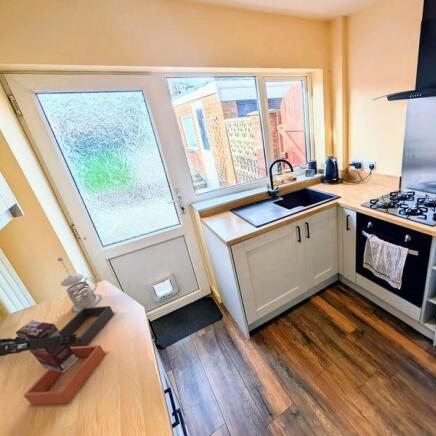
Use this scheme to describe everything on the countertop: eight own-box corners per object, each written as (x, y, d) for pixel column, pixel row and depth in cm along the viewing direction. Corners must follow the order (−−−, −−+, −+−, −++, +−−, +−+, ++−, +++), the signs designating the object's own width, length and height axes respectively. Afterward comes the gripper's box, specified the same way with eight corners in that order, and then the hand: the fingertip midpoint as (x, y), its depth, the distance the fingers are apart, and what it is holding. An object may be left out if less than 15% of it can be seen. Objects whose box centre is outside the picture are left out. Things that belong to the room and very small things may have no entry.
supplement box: (43, 369, 75) (13, 332, 69) (59, 354, 80) (33, 319, 73) (63, 373, 73) (35, 336, 67) (79, 358, 77) (54, 322, 71)
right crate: (56, 348, 90) (49, 340, 88) (88, 315, 104) (83, 307, 103) (86, 346, 90) (80, 338, 88) (114, 313, 104) (109, 305, 102)
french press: (76, 301, 114) (48, 256, 104) (105, 291, 118) (81, 247, 108) (70, 315, 106) (39, 267, 95) (101, 304, 110) (76, 257, 100)
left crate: (31, 404, 72) (23, 395, 71) (74, 355, 87) (68, 347, 85) (68, 402, 72) (61, 393, 70) (105, 353, 86) (100, 345, 84)
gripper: (-88, 373, 55) (23, 355, 76) (3, 368, 54) (90, 351, 75) (-73, 336, 57) (30, 329, 78) (14, 330, 56) (95, 324, 77)
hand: (59, 339), depth 77 cm, fingers closed on supplement box, 9 cm apart
